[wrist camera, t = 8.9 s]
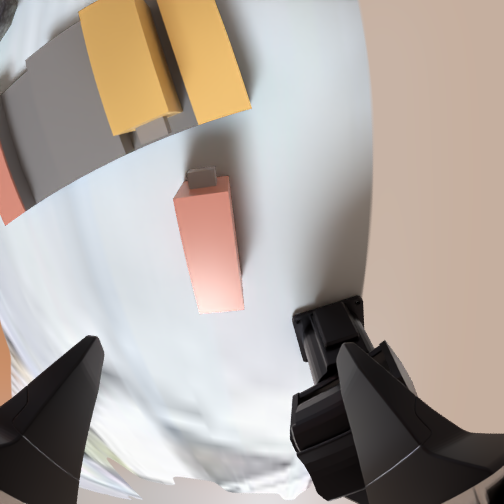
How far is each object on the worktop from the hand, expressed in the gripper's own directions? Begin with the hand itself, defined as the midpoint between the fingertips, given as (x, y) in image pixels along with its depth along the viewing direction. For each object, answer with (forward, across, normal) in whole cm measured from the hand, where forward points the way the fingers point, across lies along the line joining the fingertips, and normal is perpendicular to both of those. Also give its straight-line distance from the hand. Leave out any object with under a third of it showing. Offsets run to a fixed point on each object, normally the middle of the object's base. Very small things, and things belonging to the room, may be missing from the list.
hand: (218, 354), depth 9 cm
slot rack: (+12, +10, -9) cm, 18 cm away
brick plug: (+12, +1, +1) cm, 12 cm away
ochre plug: (+10, +6, -11) cm, 16 cm away
